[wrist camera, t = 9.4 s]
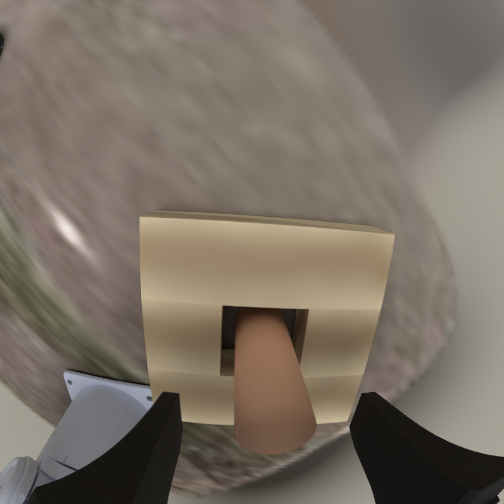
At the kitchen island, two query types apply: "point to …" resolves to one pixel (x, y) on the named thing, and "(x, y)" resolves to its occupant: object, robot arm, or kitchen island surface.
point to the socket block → (258, 302)
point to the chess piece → (1, 43)
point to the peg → (268, 385)
